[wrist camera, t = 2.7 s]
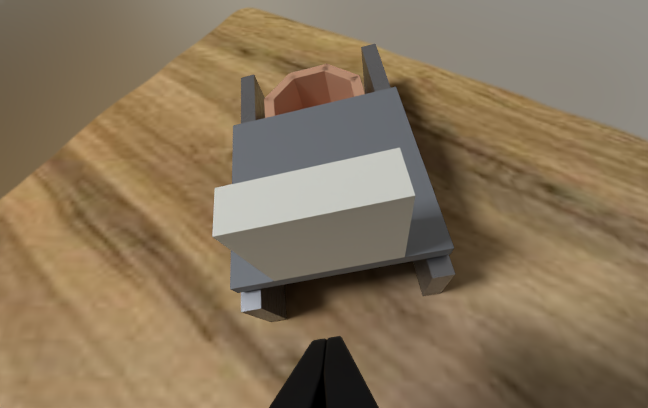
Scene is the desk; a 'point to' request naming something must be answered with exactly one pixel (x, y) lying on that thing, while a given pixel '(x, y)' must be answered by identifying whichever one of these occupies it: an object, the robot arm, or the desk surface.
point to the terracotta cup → (312, 89)
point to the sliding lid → (327, 194)
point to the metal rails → (272, 299)
